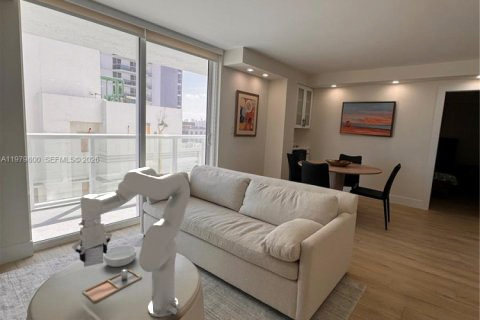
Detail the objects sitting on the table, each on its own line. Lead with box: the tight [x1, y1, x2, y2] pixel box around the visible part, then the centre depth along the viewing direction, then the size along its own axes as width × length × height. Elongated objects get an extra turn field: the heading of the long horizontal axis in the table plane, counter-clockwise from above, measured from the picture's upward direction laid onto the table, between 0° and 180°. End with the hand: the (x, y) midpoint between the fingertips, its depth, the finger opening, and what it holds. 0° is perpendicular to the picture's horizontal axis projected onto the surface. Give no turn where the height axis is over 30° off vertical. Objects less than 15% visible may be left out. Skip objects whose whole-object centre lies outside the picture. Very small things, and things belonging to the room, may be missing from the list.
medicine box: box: [83, 244, 104, 268], centre depth 117 cm, size 8×4×9 cm, turn 119°
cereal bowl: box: [103, 245, 137, 268], centre depth 143 cm, size 17×17×7 cm
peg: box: [120, 268, 128, 281], centre depth 126 cm, size 3×3×5 cm
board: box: [82, 269, 143, 304], centre depth 122 cm, size 13×23×2 cm, turn 145°
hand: (94, 256), depth 117 cm, fingers closed on medicine box, 9 cm apart
